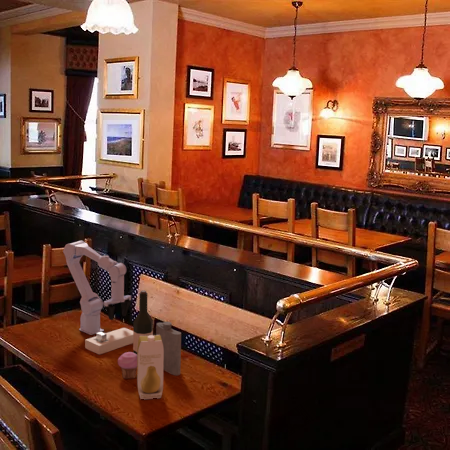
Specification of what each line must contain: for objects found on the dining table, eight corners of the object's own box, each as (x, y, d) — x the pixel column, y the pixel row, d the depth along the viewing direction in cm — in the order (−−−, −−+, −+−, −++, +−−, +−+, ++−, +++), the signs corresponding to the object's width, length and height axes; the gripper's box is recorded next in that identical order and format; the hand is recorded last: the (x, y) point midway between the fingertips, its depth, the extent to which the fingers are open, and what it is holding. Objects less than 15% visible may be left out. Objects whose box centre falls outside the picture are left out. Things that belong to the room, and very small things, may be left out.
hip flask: (181, 374, 245) (182, 327, 241) (173, 376, 242) (174, 329, 239) (160, 361, 257) (161, 316, 253) (152, 363, 254) (153, 318, 251)
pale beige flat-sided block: (85, 348, 268) (85, 339, 267) (124, 335, 284) (124, 327, 283) (99, 354, 261) (99, 345, 261) (138, 341, 278) (138, 333, 277)
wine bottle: (129, 359, 257) (129, 291, 252) (140, 352, 265) (141, 287, 259) (145, 363, 254) (145, 295, 248) (156, 356, 261) (157, 290, 255)
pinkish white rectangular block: (96, 347, 269) (96, 333, 267) (101, 346, 270) (101, 331, 269) (102, 350, 266) (101, 335, 265) (106, 348, 268) (106, 334, 266)
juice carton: (138, 401, 221) (138, 339, 216) (136, 391, 228) (136, 331, 224) (163, 399, 223) (164, 338, 218) (161, 389, 230) (161, 330, 226)
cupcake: (118, 382, 236) (118, 358, 234) (117, 372, 244) (117, 349, 242) (141, 380, 238) (141, 356, 236) (139, 371, 246) (139, 348, 244)
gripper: (110, 294, 270) (110, 323, 273) (135, 288, 281) (135, 316, 284) (100, 291, 275) (101, 319, 277) (125, 285, 286) (125, 312, 288)
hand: (117, 317), depth 281 cm, fingers open, 7 cm apart
